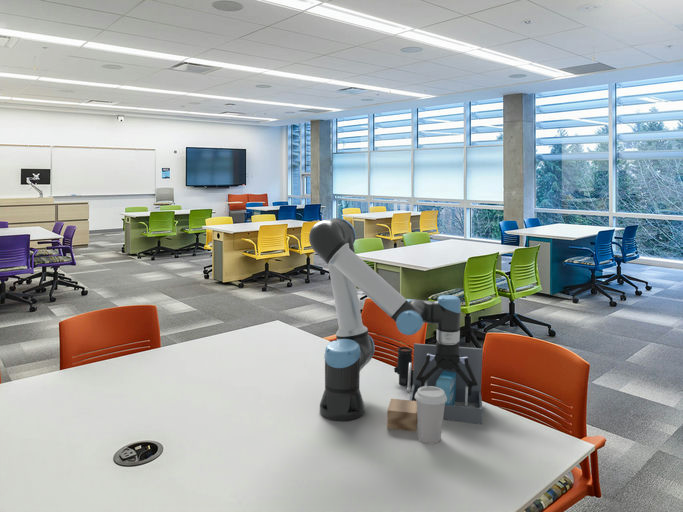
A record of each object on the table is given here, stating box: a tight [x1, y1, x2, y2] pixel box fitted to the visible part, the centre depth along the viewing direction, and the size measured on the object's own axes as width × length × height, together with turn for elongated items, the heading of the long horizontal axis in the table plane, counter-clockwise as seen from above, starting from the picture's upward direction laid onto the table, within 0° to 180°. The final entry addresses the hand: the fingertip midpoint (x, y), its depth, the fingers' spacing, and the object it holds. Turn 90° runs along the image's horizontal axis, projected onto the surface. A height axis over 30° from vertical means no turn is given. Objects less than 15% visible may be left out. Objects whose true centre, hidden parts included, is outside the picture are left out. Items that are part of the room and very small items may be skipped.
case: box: [406, 343, 484, 425], centre depth 171 cm, size 25×16×20 cm, turn 77°
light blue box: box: [436, 371, 456, 406], centre depth 172 cm, size 12×4×12 cm, turn 156°
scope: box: [393, 346, 413, 387], centre depth 194 cm, size 8×14×10 cm
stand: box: [386, 398, 418, 433], centre depth 162 cm, size 9×9×6 cm
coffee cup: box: [414, 386, 447, 445], centre depth 152 cm, size 10×10×15 cm
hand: (445, 402), depth 172 cm, fingers open, 13 cm apart
